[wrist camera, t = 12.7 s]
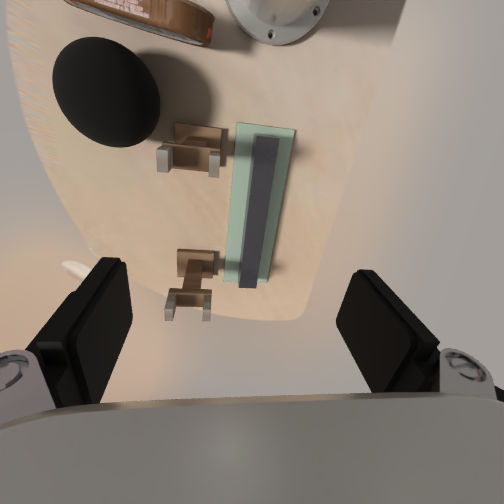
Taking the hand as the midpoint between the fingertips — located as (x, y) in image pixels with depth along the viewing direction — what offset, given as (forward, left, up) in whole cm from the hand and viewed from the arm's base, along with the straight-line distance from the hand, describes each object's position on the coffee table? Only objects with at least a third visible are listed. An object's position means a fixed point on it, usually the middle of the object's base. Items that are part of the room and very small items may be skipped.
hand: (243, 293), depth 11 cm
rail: (+8, +5, -30) cm, 31 cm away
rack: (+8, -4, -30) cm, 32 cm away
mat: (+8, +5, -30) cm, 32 cm away
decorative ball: (-6, -13, -31) cm, 34 cm away
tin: (-14, -10, -31) cm, 35 cm away
